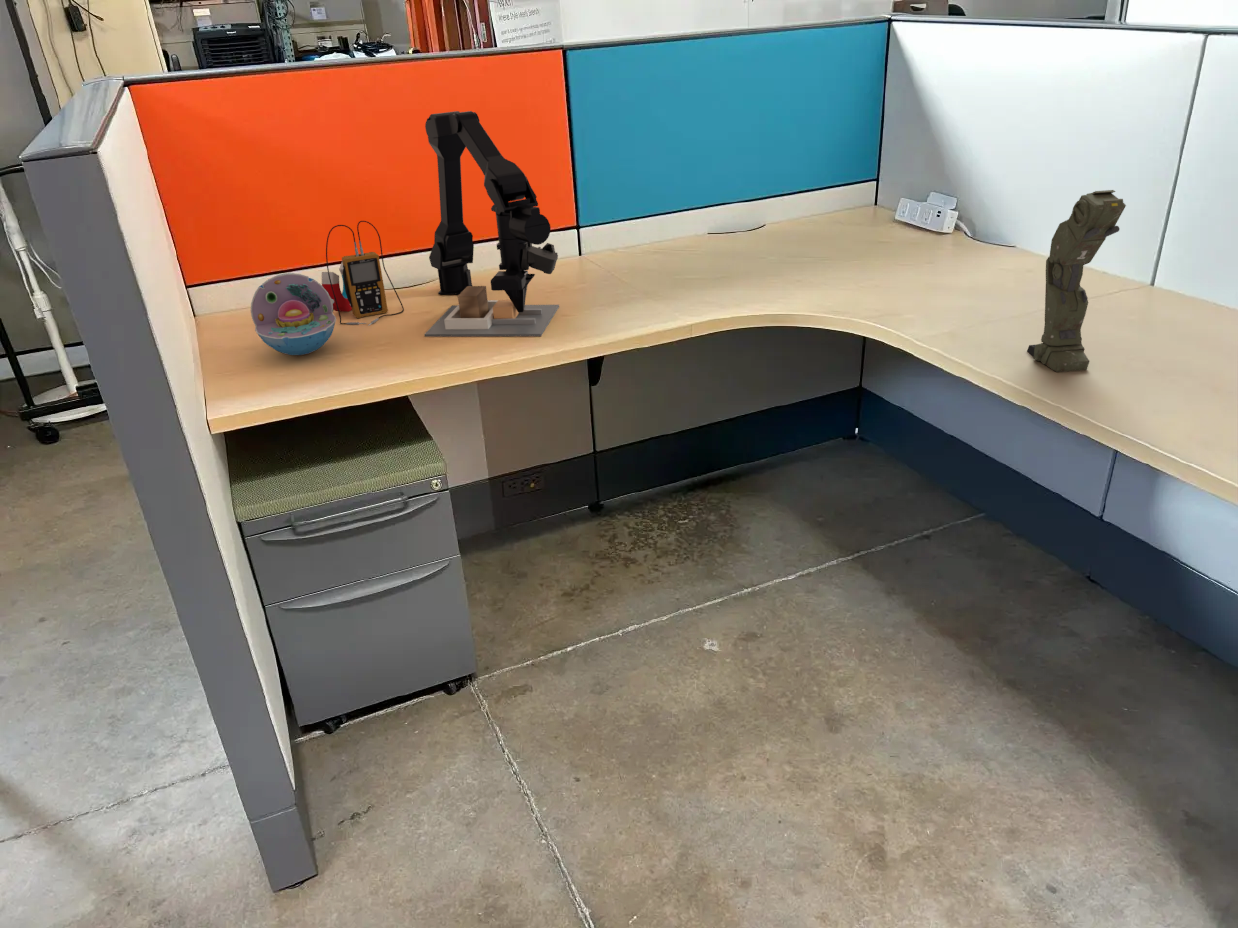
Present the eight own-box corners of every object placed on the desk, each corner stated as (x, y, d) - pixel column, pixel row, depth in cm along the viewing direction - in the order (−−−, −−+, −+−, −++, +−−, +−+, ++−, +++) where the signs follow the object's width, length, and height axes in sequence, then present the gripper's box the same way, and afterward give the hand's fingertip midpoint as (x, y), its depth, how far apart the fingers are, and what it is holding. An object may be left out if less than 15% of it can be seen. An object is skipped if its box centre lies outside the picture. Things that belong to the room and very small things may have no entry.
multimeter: (345, 331, 185) (326, 235, 176) (335, 319, 193) (317, 226, 184) (414, 318, 191) (399, 224, 181) (402, 307, 199) (387, 216, 189)
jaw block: (461, 324, 184) (457, 296, 181) (470, 313, 190) (467, 286, 187) (480, 324, 183) (476, 296, 181) (489, 313, 189) (485, 286, 187)
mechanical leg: (1011, 339, 160) (1061, 178, 140) (1050, 336, 160) (1106, 175, 140) (1046, 384, 149) (1105, 217, 130) (1087, 381, 150) (1153, 214, 130)
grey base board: (424, 336, 180) (422, 324, 178) (452, 307, 196) (450, 296, 195) (541, 336, 176) (539, 324, 175) (559, 306, 193) (558, 295, 192)
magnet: (352, 302, 204) (344, 259, 199) (364, 302, 203) (355, 259, 199) (328, 318, 194) (318, 273, 189) (339, 319, 193) (330, 273, 188)
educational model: (265, 374, 165) (245, 295, 158) (258, 344, 180) (240, 271, 173) (351, 359, 170) (335, 282, 163) (337, 331, 186) (323, 259, 179)
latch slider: (494, 321, 184) (492, 307, 182) (500, 313, 188) (498, 300, 187) (513, 321, 183) (511, 307, 182) (518, 313, 188) (517, 299, 186)
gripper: (542, 247, 168) (550, 326, 175) (561, 224, 185) (567, 297, 192) (485, 248, 170) (495, 326, 177) (508, 226, 186) (516, 298, 193)
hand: (521, 311), depth 185 cm, fingers closed, pressing on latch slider
